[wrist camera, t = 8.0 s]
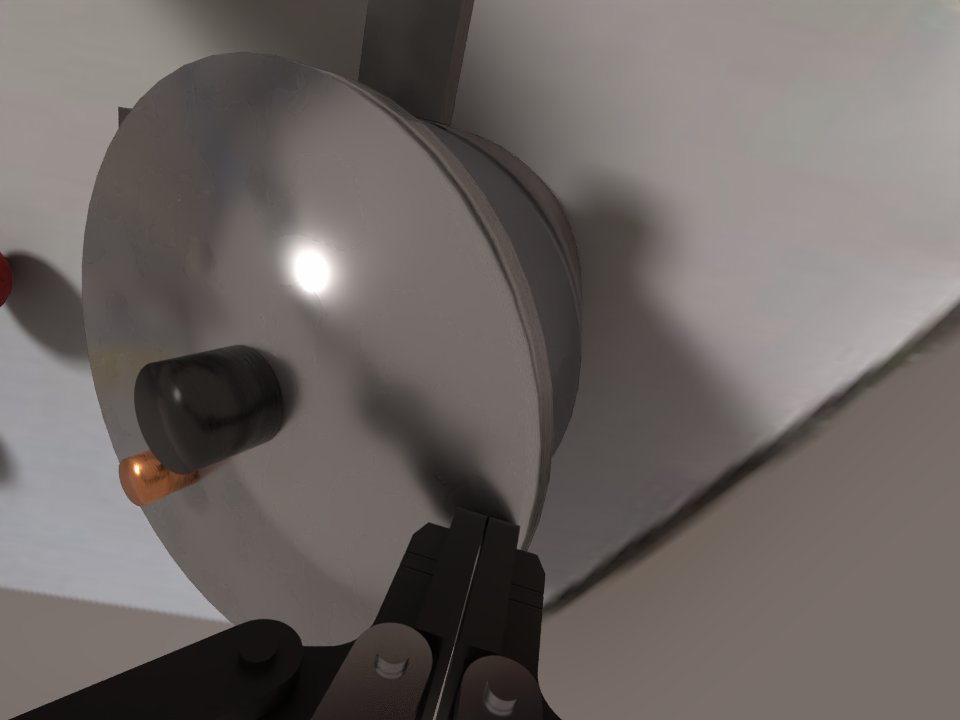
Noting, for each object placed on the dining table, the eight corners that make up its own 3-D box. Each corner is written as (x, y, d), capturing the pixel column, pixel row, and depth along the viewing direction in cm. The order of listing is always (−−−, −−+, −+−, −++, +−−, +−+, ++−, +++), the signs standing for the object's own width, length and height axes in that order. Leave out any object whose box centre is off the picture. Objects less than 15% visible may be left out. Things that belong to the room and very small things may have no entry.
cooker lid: (122, 27, 18) (-32, -16, 15) (662, 142, 10) (595, 105, 7) (127, 486, 24) (21, 526, 21) (463, 755, 17) (380, 883, 14)
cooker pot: (293, 2, 28) (102, -105, 17) (648, 84, 27) (697, 25, 15) (255, 427, 37) (115, 540, 26) (519, 506, 36) (491, 662, 24)
